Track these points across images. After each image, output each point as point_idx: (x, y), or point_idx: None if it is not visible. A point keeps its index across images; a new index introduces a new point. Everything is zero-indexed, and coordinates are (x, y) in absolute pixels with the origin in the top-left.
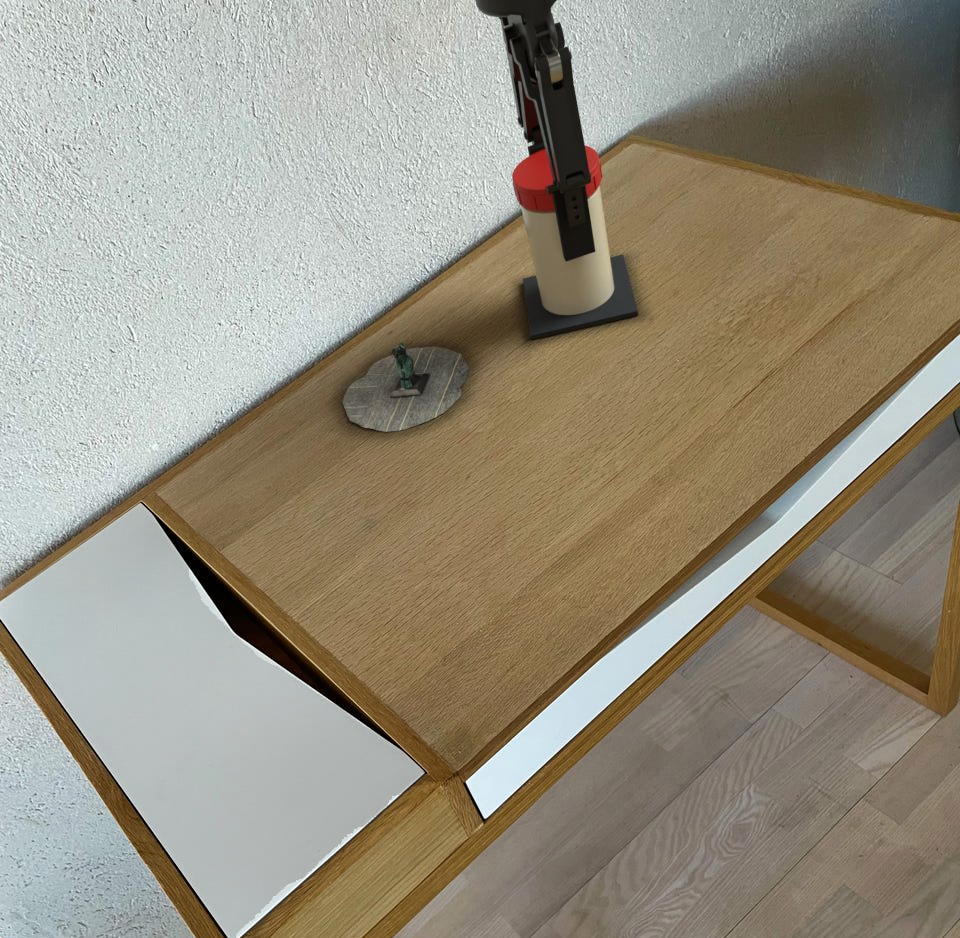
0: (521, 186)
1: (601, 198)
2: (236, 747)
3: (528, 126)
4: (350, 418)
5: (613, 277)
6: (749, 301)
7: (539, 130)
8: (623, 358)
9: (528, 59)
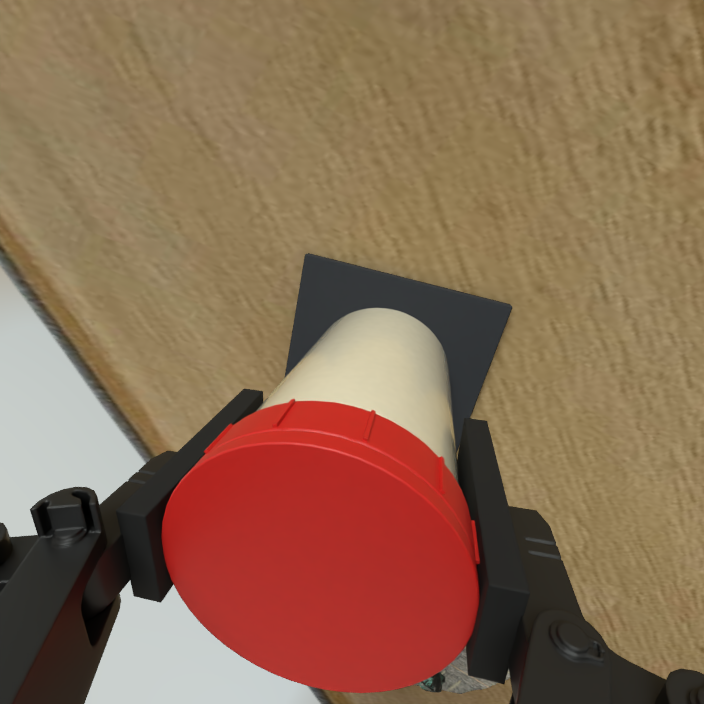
0: (363, 690)
1: (386, 393)
2: None
3: (90, 672)
4: (455, 691)
5: (370, 301)
6: (649, 69)
7: (91, 592)
8: (617, 378)
9: None
